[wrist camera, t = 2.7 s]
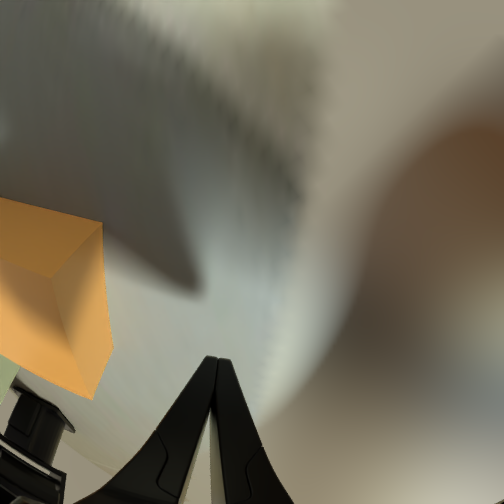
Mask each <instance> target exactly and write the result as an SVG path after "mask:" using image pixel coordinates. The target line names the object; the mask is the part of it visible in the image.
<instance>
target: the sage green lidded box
mask: <svg viewBox="0 0 504 504" xmlns="http://www.w3.org/2000/svg"><path fill="white" fill-rule="evenodd" d="M20 367H21V366H20V365H18V364H16V363H14V362H13V361H11V360H9V359H8V358H6V357H5V356H3V355H1V354H0V405H1V403H2V401H3V399H4V397H5V395H6V393H7V391H8V389H9V387H10V385H11V383H12V381H13V379H14V377H15V376H16V374H17V372H18V370H19V368H20Z"/></svg>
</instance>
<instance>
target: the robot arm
mask: <svg viewBox="0 0 504 504" xmlns="http://www.w3.org/2000/svg"><path fill="white" fill-rule="evenodd" d="M12 389H13V391H14V392H15V393H16V394H17V395H18V397H19V398H18V401H17V403H16V405H15V407H14V409H13V411H12V414H11V416H10V418H9V420H8V426H7V428H6V431H5V433H4V436H3V435H2V434H1V433H0V440H1V441H2V442H4V443H5V444H6V445H8V446H9V447H11V448H12V449H14V450H15V451H16V452H18V453H20V454H21V455H23V456H24V457H26V458H27V459H29V460H30V461H32V462H34V463H35V464H37V465H39V466H41V467H42V468H44V469H46V470H48V471H49V472H50V474H49V475H48V474H46V473H44V472H42V471H41V470H39V469H37V468H35V467H34V466H32V465H30V464H29V463H27V462H26V461H24V460H22V459H21V458H19V457H18V456H16V455H15V454H13V453H12V452H10V451H9V450H7V449H6V448H5V447H3V446H2V445H0V504H63V499H64V490H65V482H66V475H67V474H66V473H64V472H62V471H60V470H57V469H55V468H53V467H51V466H52V463H53V460H54V456H55V453H56V450H57V447H58V444H59V442H60V439H61V436H62V433H63V430H64V429H65V430H67V431H69V432H72V433H75V431H76V430H75V429H74V428H73V427H72V426H71V424H70V423H69V422H68V421H67V420H66V419H65V417H64V416H63V415H62V414H61V412H60V411H59V410H58V409H57V408H55V407H53V406H51V405H49V404H47V403H45V402H43V401H41V400H39V399H37V398H35V397H33V396H32V395H30V394H28V393H26V392H24V391H23V390H21V389H19V388H17V387H16V386H13V388H12ZM209 412H210V469H211V470H210V472H211V500H212V504H294V502H293V501H292V499H291V498H290V496H289V495H288V493H287V492H286V490H285V489H284V487H283V485H282V484H281V482H280V480H279V479H278V477H277V475H276V473H275V472H274V470H273V468H272V466H271V464H270V461H269V459H268V457H267V455H266V452H265V450H264V447H262V443H261V440H260V438H259V435H258V432H257V430H256V427H255V425H254V422H253V419H252V417H251V414H250V411H249V409H248V406H247V403H246V401H245V398H244V395H243V393H242V390H241V387H240V384H239V381H238V379H237V376H236V373H235V370H234V367H233V364H232V362H231V360H230V359H225V358H219V359H218V358H217V357H214V356H206V357H205V358H204V359H203V361H202V362H201V364H200V365H199V367H198V368H197V370H196V371H195V373H194V374H193V376H192V377H191V379H190V380H189V381H188V383H187V384H186V386H185V387H184V389H183V390H182V392H181V393H180V395H179V396H178V397H177V399H176V400H175V402H174V403H173V405H172V406H171V408H170V409H169V410H168V412H167V413H166V415H165V416H164V418H163V419H162V420H161V422H160V423H159V425H158V426H157V427H156V430H154V432H153V433H152V434H151V436H150V437H149V439H148V440H147V441H146V442H145V444H144V445H143V446H142V448H141V449H140V450H139V451H138V452H137V453H136V454H135V455H134V457H133V458H132V459H131V460H130V461H129V462H128V463H127V464H126V465H125V466H124V467H123V468H122V469H121V470H120V471H119V472H118V473H117V474H116V475H115V476H114V477H113V478H112V479H111V480H109V481H108V482H107V483H106V484H105V485H104V486H102V487H101V488H100V489H98V490H97V491H95V492H94V493H92V494H90V495H88V496H87V497H85V498H83V499H81V500H79V501H77V502H76V503H73V504H183V503H184V499H185V496H186V492H187V489H188V486H189V482H190V479H191V475H192V472H193V469H194V465H195V462H196V458H197V455H198V451H199V448H200V444H201V441H202V437H203V434H204V431H205V427H206V424H207V420H208V416H209ZM496 504H504V500H502V501H500V502H498V503H496Z"/></svg>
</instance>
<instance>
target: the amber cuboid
mask: <svg viewBox="0 0 504 504" xmlns="http://www.w3.org/2000/svg"><path fill="white" fill-rule="evenodd" d="M113 348H114V347H113V341H112V334H111V328H110V321H109V313H108V305H107V296H106V286H105V273H104V257H103V223H102V222H98V221H94V220H90V219H85V218H81V217H77V216H73V215H69V214H65V213H61V212H57V211H53V210H49V209H45V208H41V207H37V206H33V205H29V204H25V203H21V202H17V201H13V200H10V199H6V198H2V197H0V354H1V355H3V356H5V357H6V358H8V359H9V360H11V361H13V362H14V363H16V364H18V365H20V366H21V367H23V368H25V369H27V370H28V371H30V372H32V373H34V374H36V375H38V376H40V377H42V378H44V379H46V380H48V381H50V382H52V383H54V384H56V385H58V386H60V387H62V388H64V389H67V390H69V391H71V392H73V393H76V394H78V395H80V396H83V397H85V398H88V399H90V400H92V399H93V396H94V394H95V391H96V389H97V386H98V384H99V381H100V379H101V376H102V374H103V371H104V369H105V367H106V364H107V362H108V360H109V357H110V355H111V353H112V350H113Z"/></svg>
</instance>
